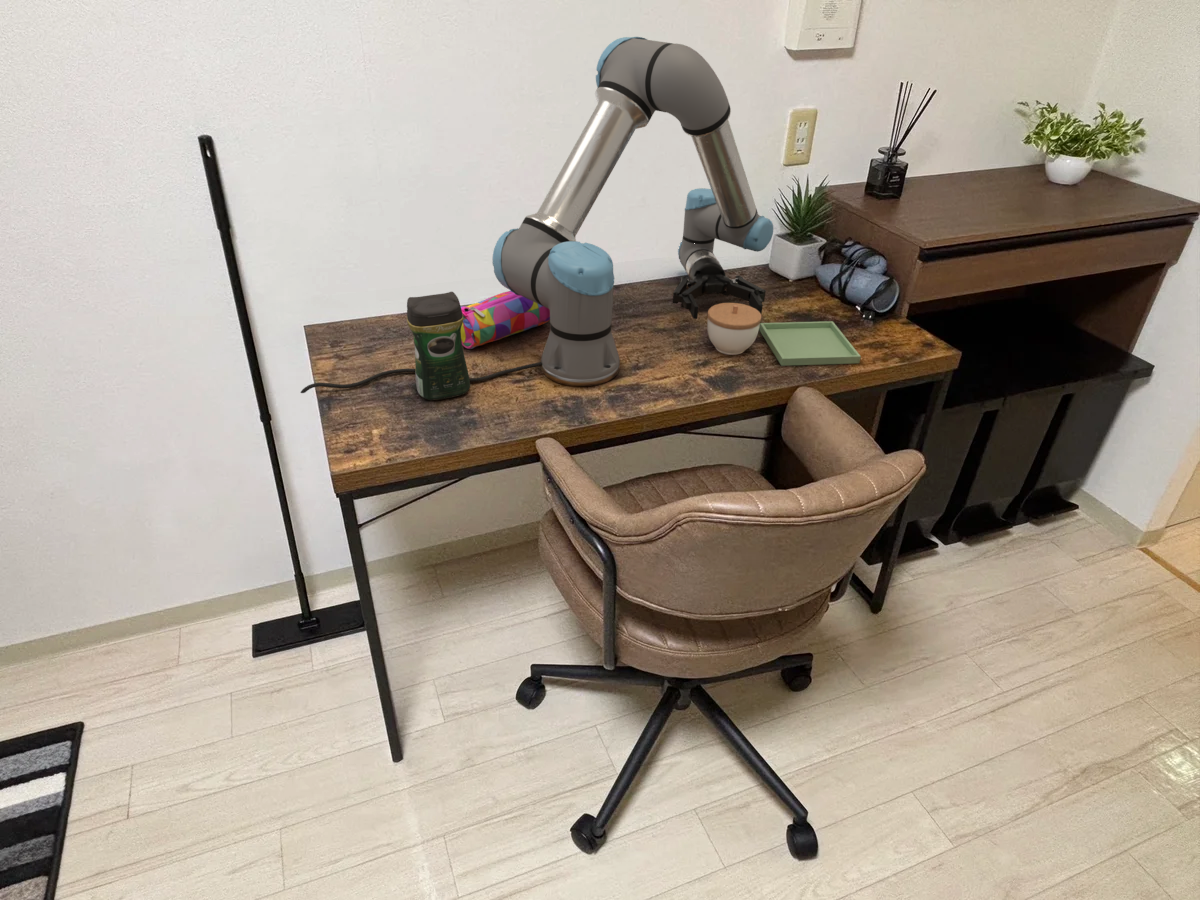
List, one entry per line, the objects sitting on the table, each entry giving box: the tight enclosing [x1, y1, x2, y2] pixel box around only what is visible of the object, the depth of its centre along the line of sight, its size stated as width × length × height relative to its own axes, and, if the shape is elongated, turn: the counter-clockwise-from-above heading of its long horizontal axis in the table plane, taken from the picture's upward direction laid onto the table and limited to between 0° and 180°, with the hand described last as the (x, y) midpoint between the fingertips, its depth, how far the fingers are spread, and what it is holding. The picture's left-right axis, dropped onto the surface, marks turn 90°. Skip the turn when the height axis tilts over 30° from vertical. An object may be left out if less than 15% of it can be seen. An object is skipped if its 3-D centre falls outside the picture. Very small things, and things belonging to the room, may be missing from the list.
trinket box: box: [706, 302, 762, 356], centre depth 156 cm, size 11×11×9 cm
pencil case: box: [460, 290, 550, 350], centre depth 159 cm, size 22×9×9 cm, turn 132°
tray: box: [759, 321, 862, 367], centre depth 160 cm, size 16×16×2 cm
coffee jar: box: [406, 291, 471, 401], centre depth 137 cm, size 10×8×19 cm
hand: (728, 312), depth 159 cm, fingers open, 13 cm apart
